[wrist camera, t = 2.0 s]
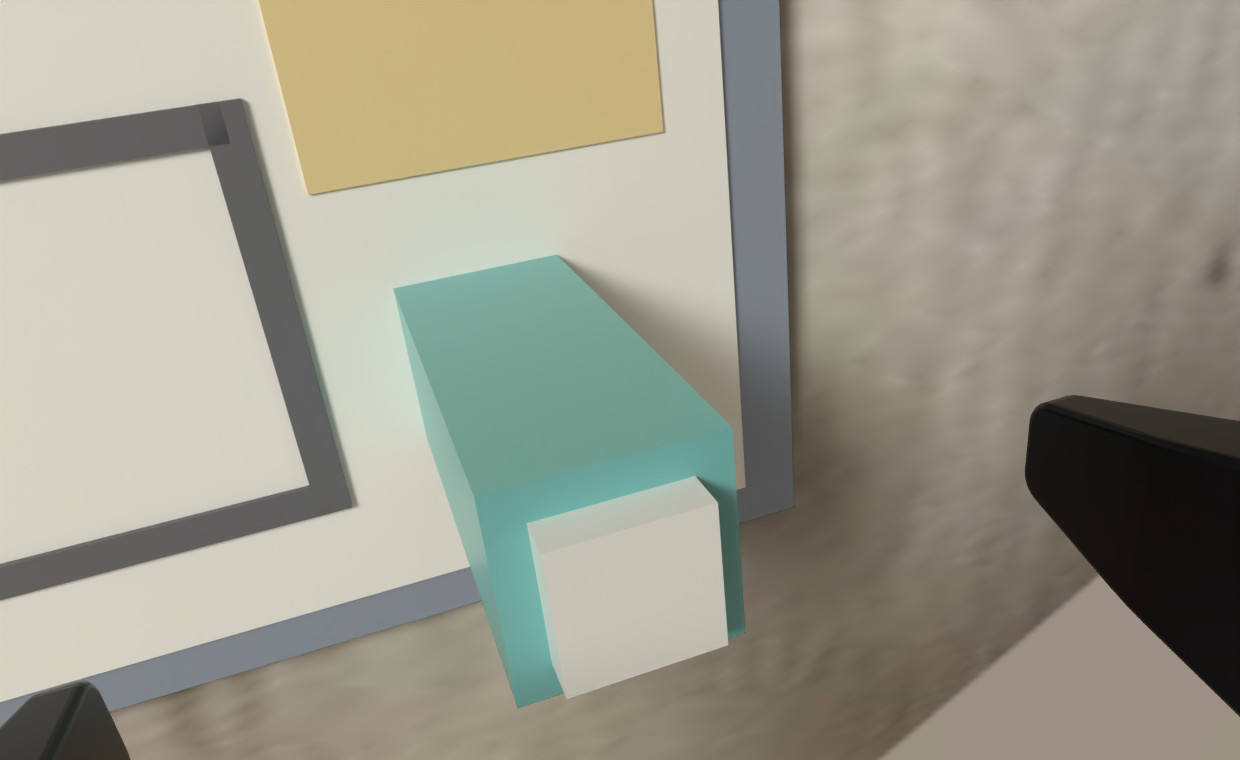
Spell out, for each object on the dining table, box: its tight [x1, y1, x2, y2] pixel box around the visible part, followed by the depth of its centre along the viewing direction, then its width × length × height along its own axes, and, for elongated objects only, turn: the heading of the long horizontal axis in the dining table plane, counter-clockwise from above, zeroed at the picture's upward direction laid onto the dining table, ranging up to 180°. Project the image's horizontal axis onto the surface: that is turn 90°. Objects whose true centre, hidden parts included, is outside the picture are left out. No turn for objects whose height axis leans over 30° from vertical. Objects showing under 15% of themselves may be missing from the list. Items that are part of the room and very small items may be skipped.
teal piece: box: [393, 255, 745, 708], centre depth 11 cm, size 2×2×6 cm
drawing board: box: [0, 0, 794, 727], centre depth 12 cm, size 18×12×1 cm, turn 98°
